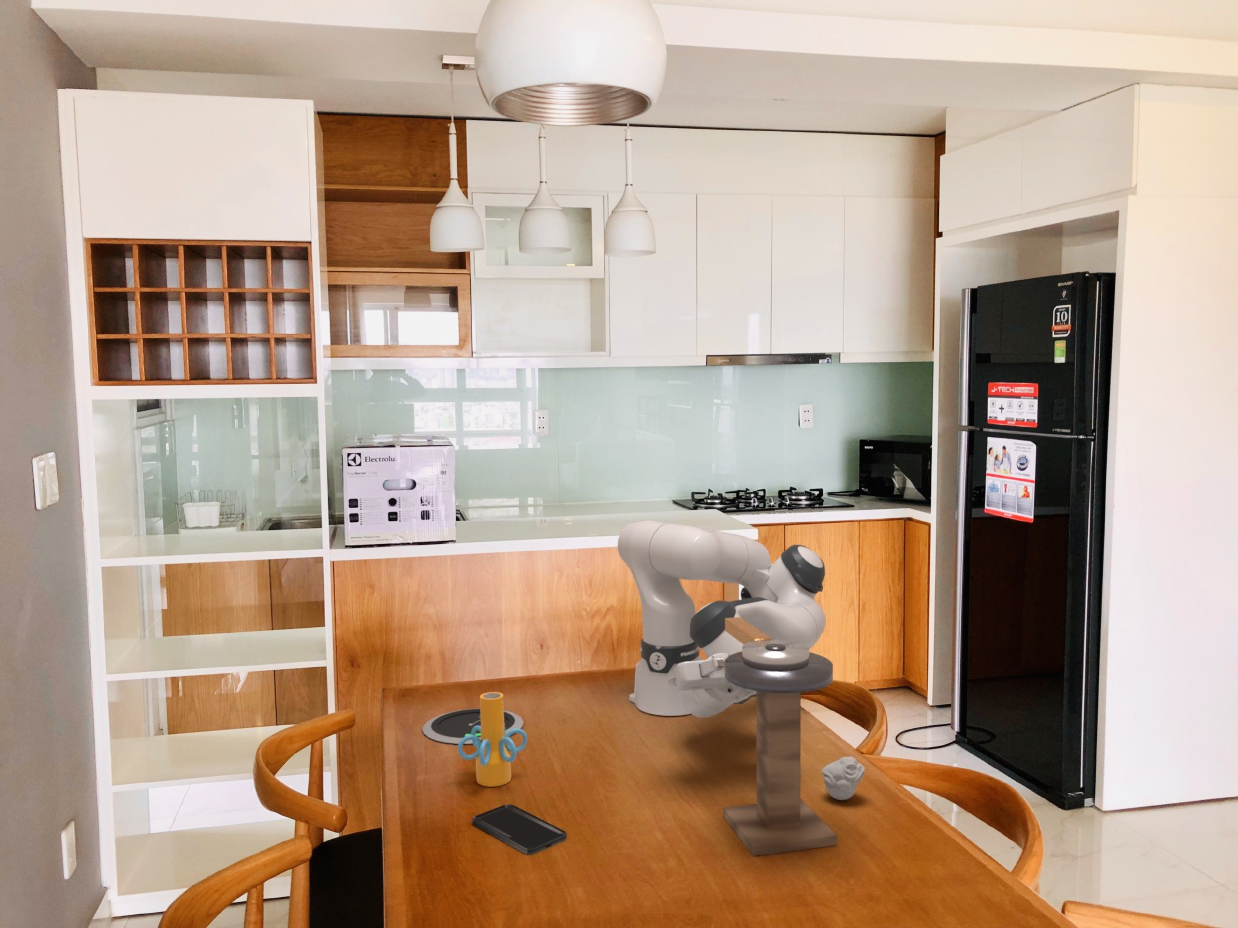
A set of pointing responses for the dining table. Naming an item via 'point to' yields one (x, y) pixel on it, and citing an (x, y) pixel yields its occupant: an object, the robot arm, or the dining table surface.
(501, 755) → the cylinder
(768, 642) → the cover
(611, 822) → the dining table surface
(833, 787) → the frog figurine
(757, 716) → the pedestal
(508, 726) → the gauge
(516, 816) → the phone
